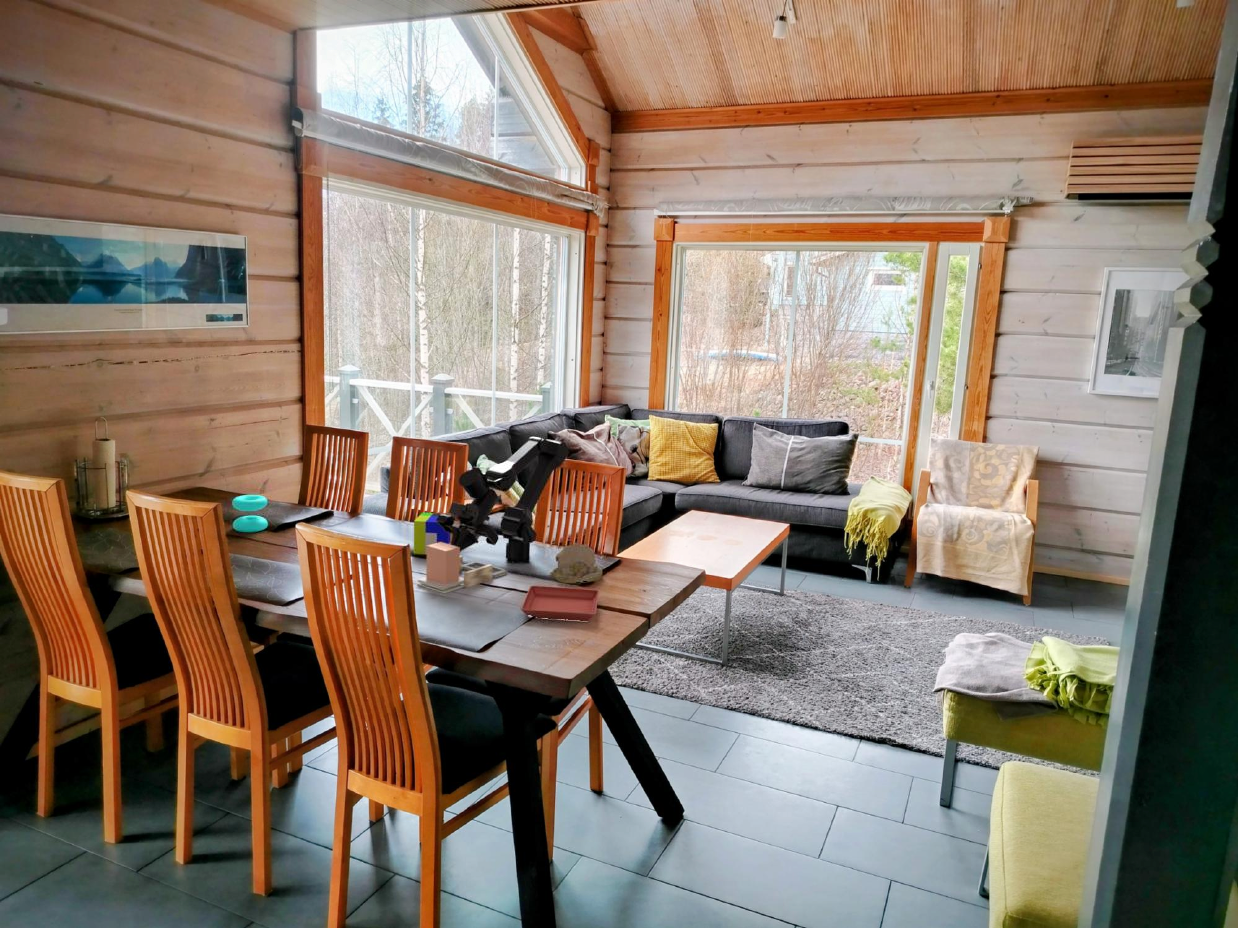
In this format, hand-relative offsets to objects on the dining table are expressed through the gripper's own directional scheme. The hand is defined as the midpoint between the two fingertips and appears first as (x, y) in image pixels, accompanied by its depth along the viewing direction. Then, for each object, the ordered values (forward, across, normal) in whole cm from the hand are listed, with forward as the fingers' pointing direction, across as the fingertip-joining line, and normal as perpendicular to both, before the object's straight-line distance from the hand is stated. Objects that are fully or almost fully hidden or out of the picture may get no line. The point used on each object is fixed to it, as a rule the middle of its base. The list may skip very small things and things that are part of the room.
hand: (450, 555), depth 231 cm
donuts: (+10, -80, +1) cm, 80 cm away
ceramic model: (-14, +21, +25) cm, 36 cm away
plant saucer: (+3, +34, +9) cm, 35 cm away
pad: (+8, 0, +3) cm, 8 cm away
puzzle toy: (-7, -24, +18) cm, 31 cm away
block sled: (+7, 0, +3) cm, 7 cm away
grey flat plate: (-4, 0, +15) cm, 15 cm away
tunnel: (+2, 0, +9) cm, 9 cm away
